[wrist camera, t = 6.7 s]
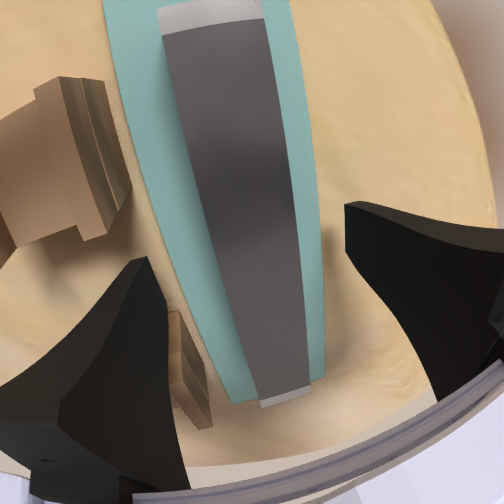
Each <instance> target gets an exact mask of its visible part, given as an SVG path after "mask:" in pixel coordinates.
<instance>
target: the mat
mask: <svg viewBox="0 0 504 504" xmlns="http://www.w3.org/2000/svg"><path fill="white" fill-rule="evenodd" d="M188 1H193V0H103V7H104V13H105V19H106V25H107V31H108V36H109V42H110V47H111V52H112V57H113V62H114V67H115V71H116V76H117V81H118V85H119V89H120V94H121V98H122V102H123V106H124V110H125V114H126V118H127V122H128V125H129V129H130V133H131V137H132V140H133V144H134V148H135V151H136V155H137V158H138V161H139V165H140V168H141V172H142V175H143V178H144V181H145V185H146V188H147V191H148V194H149V197H150V200H151V204H152V207H153V210H154V213H155V216H156V219H157V222H158V225H159V228H160V230H161V233H162V236H163V239H164V242H165V245H166V248H167V250H168V253H169V256H170V259H171V261H172V264H173V267H174V269H175V272H176V275H177V277H178V280H179V283H180V285H181V288H182V290H183V293H184V295H185V298H186V300H187V303H188V305H189V308H190V310H191V313H192V315H193V318H194V320H195V323H196V325H197V327H198V330H199V332H200V334H201V337H202V339H203V341H204V344H205V346H206V348H207V351H208V353H209V355H210V357H211V360H212V362H213V364H214V366H215V368H216V371H217V373H218V375H219V377H220V379H221V381H222V384H223V386H224V388H225V390H226V392H227V394H228V396H229V398H230V400H231V402H232V405H233V404H237V403H241V402H245V401H249V400H253V399H256V398H259V397H258V394H257V391H256V388H255V385H254V382H253V379H252V376H251V372H250V369H249V366H248V363H247V360H246V357H245V353H244V350H243V347H242V344H241V341H240V337H239V334H238V331H237V328H236V324H235V321H234V318H233V314H232V311H231V308H230V304H229V301H228V298H227V294H226V291H225V287H224V284H223V281H222V277H221V274H220V270H219V267H218V263H217V260H216V256H215V252H214V249H213V245H212V242H211V238H210V234H209V231H208V227H207V223H206V220H205V216H204V212H203V208H202V205H201V201H200V197H199V193H198V189H197V185H196V182H195V178H194V174H193V170H192V166H191V162H190V158H189V154H188V150H187V146H186V142H185V137H184V133H183V129H182V125H181V121H180V116H179V112H178V108H177V103H176V99H175V95H174V90H173V86H172V81H171V77H170V72H169V67H168V63H167V58H166V53H165V48H164V44H163V39H162V36H161V31H160V26H159V21H158V16H157V10H156V9H157V8H161V7H165V6H169V5H174V4H178V3H183V2H188ZM261 4H262V9H263V13H264V20H265V25H266V30H267V35H268V40H269V45H270V51H271V56H272V61H273V67H274V72H275V78H276V83H277V89H278V95H279V101H280V107H281V113H282V120H283V126H284V133H285V139H286V146H287V153H288V160H289V167H290V174H291V182H292V190H293V197H294V206H295V214H296V222H297V231H298V240H299V250H300V259H301V269H302V280H303V291H304V302H305V315H306V328H307V342H308V357H309V374H310V382H311V381H314V380H317V379H320V378H323V377H324V375H325V325H324V286H323V263H322V245H321V229H320V216H319V203H318V192H317V181H316V171H315V161H314V152H313V144H312V135H311V127H310V120H309V112H308V105H307V98H306V92H305V85H304V79H303V73H302V67H301V61H300V55H299V50H298V44H297V39H296V34H295V29H294V24H293V19H292V14H291V9H290V5H289V0H261Z"/></svg>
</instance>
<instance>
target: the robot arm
mask: <svg viewBox="0 0 504 504" xmlns="http://www.w3.org/2000/svg"><path fill="white" fill-rule="evenodd" d="M344 211H345V252H346V254H347V255H348V257H349V258H350V260H351V262H352V263H353V265H354V266H355V268H356V269H357V271H358V272H359V273H360V275H361V276H362V277H363V278H364V279H365V281H366V282H367V283H368V284H369V285H370V287H371V288H372V289H373V290H374V291H375V292H376V294H377V295H378V296H379V297H380V298H381V300H382V301H383V302H384V303H385V304H386V306H387V307H388V308H389V309H390V311H391V312H392V313H393V315H394V316H395V317H396V319H397V320H398V322H399V324H400V325H401V327H402V328H403V330H404V332H405V333H406V335H407V337H408V338H409V340H410V342H411V344H412V346H413V348H414V349H415V351H416V353H417V355H418V357H419V359H420V361H421V363H422V365H423V367H424V370H425V372H426V374H427V376H428V378H429V381H430V383H431V386H432V389H433V391H434V394H435V396H436V399H437V402H438V403H436V404H434V405H433V406H431V407H430V408H428V409H426V410H425V411H423V412H421V413H419V414H418V415H416V416H414V417H412V418H410V419H409V420H407V421H405V422H403V423H401V424H399V425H397V426H395V427H393V428H392V429H389V430H387V431H385V432H383V433H381V434H379V435H377V436H375V437H373V438H370V439H368V440H366V441H364V442H361V443H359V444H357V445H354V446H352V447H350V448H347V449H345V450H342V451H340V452H337V453H335V454H332V455H329V456H327V457H324V458H321V459H319V460H315V461H313V462H309V463H306V464H303V465H300V466H297V467H294V468H291V469H287V470H284V471H280V472H277V473H273V474H269V475H265V476H261V477H257V478H254V479H248V480H244V481H239V482H234V483H229V484H224V485H218V486H212V487H205V488H198V489H191V486H190V483H189V480H188V477H187V473H186V470H185V466H184V463H183V459H182V455H181V451H180V447H179V442H178V438H177V433H176V428H175V423H174V418H173V412H172V405H171V399H170V392H169V378H168V355H169V322H168V313H167V304H166V300H165V298H164V295H163V293H162V291H161V288H160V286H159V284H158V281H157V279H156V277H155V274H154V272H153V270H152V267H151V265H150V262H149V260H148V257H147V256H145V257H141V258H138V259H134V260H131V261H130V262H129V263H128V264H127V265H126V266H125V267H124V269H123V270H122V271H121V272H120V274H119V275H118V276H117V277H116V279H115V280H114V281H113V282H112V284H111V285H110V286H109V288H108V289H107V290H106V291H105V293H104V294H103V295H102V296H101V298H100V299H99V300H98V301H97V302H96V304H95V305H94V306H93V307H92V308H91V310H90V311H89V312H88V313H87V314H86V316H85V317H84V318H83V319H82V320H81V321H80V322H79V323H78V324H77V325H76V326H75V327H74V328H73V329H72V331H71V332H70V333H69V334H68V335H67V336H66V337H64V338H63V339H62V340H61V341H60V342H59V343H58V344H57V345H56V346H54V347H53V348H52V349H51V350H50V351H49V352H48V353H47V354H46V355H44V356H43V357H42V358H41V359H39V360H38V361H37V362H36V363H34V364H33V365H32V366H30V367H29V368H28V369H26V370H25V371H24V372H22V373H21V374H19V375H18V376H16V377H15V378H13V379H12V380H10V381H9V382H7V383H5V384H4V385H2V386H1V387H0V450H1V451H2V452H4V453H5V454H7V455H8V456H9V457H11V458H13V459H14V460H15V461H17V462H18V463H20V464H21V465H23V466H25V467H26V468H28V469H29V470H31V476H30V479H28V478H26V477H23V476H20V475H16V474H11V473H6V472H2V471H0V504H279V503H283V502H286V501H290V500H293V499H297V498H300V497H303V496H306V495H310V494H313V493H316V492H319V491H322V490H324V489H327V488H330V487H332V486H335V485H338V484H341V483H343V482H346V481H348V480H351V479H353V478H355V477H358V476H360V475H363V474H365V473H367V472H369V471H371V470H374V469H375V468H377V469H375V470H374V471H371V472H369V473H367V474H365V475H363V476H361V477H359V478H357V479H355V480H353V481H351V482H350V483H348V484H346V485H344V486H342V487H340V488H338V489H337V490H335V491H333V492H331V493H329V494H327V495H324V496H322V497H319V498H316V499H314V500H311V501H308V502H305V503H303V504H504V229H494V228H482V227H473V226H465V225H459V224H453V223H448V222H443V221H438V220H434V219H430V218H426V217H422V216H418V215H414V214H411V213H407V212H403V211H400V210H396V209H393V208H389V207H386V206H382V205H378V204H374V203H369V202H364V201H356V202H352V203H348V204H344ZM386 463H387V464H386ZM384 464H385V465H384ZM382 465H383V466H382ZM380 466H381V467H380ZM378 467H379V468H378Z"/></svg>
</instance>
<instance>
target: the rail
mask: <svg viewBox="0 0 504 504" xmlns="http://www.w3.org/2000/svg"><path fill="white" fill-rule="evenodd" d="M156 10H157V16H158V21H159V26H160V31H161V36H162V39H163V44H164V48H165V53H166V58H167V63H168V67H169V72H170V77H171V81H172V86H173V90H174V95H175V99H176V103H177V108H178V112H179V116H180V121H181V125H182V129H183V133H184V137H185V142H186V146H187V150H188V154H189V158H190V162H191V166H192V170H193V174H194V178H195V182H196V185H197V189H198V193H199V197H200V201H201V205H202V208H203V212H204V216H205V220H206V223H207V227H208V231H209V234H210V238H211V242H212V245H213V249H214V252H215V256H216V260H217V263H218V267H219V270H220V274H221V277H222V281H223V284H224V287H225V291H226V294H227V298H228V301H229V304H230V308H231V311H232V314H233V318H234V321H235V324H236V328H237V331H238V334H239V337H240V341H241V344H242V347H243V350H244V353H245V357H246V360H247V363H248V366H249V369H250V372H251V376H252V379H253V382H254V385H255V388H256V391H257V394H258V397H259V401H260V404H261V407H262V408H264V407H268V406H271V405H275V404H278V403H281V402H285V401H288V400H291V399H294V398H297V397H300V396H303V395H306V394H309V393H311V388H310V374H309V357H308V342H307V328H306V315H305V302H304V291H303V280H302V269H301V259H300V250H299V240H298V231H297V222H296V214H295V206H294V197H293V190H292V182H291V174H290V167H289V160H288V153H287V146H286V139H285V133H284V126H283V120H282V113H281V107H280V101H279V95H278V89H277V83H276V78H275V72H274V67H273V61H272V56H271V51H270V45H269V40H268V35H267V30H266V25H265V20H264V13H263V9H262V4H261V0H193V1H188V2H183V3H178V4H174V5H169V6H165V7H161V8H157V9H156Z"/></svg>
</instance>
